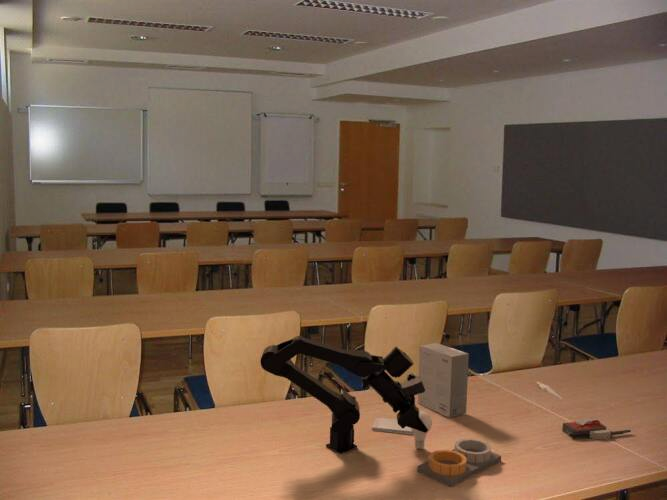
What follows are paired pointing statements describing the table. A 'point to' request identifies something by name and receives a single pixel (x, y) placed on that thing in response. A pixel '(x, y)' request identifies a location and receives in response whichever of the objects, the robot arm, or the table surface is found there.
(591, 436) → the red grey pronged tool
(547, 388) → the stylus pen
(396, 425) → the hard drive
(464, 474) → the bulb holder
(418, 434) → the lightbulb
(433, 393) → the hard drive box
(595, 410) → the table surface
